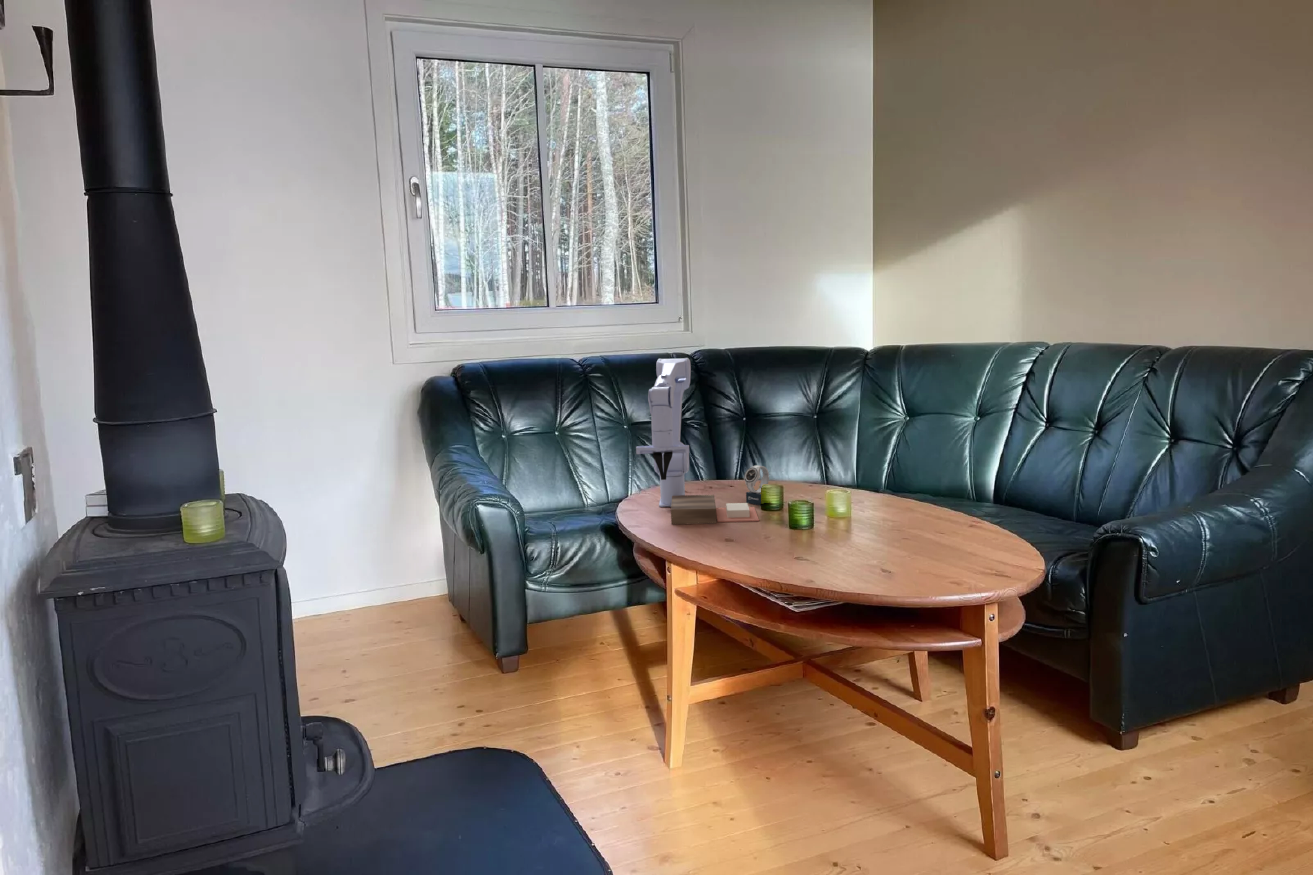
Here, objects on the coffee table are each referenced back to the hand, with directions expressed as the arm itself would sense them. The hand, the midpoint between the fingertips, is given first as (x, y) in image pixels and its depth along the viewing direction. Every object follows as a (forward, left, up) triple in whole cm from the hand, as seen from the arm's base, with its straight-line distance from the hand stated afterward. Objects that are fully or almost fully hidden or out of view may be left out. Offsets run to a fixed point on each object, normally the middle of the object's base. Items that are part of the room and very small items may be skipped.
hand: (663, 479), depth 233 cm
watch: (-14, +27, -11) cm, 32 cm away
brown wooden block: (+1, +8, -10) cm, 13 cm away
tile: (+1, +20, -8) cm, 22 cm away
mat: (+1, +20, -10) cm, 22 cm away
